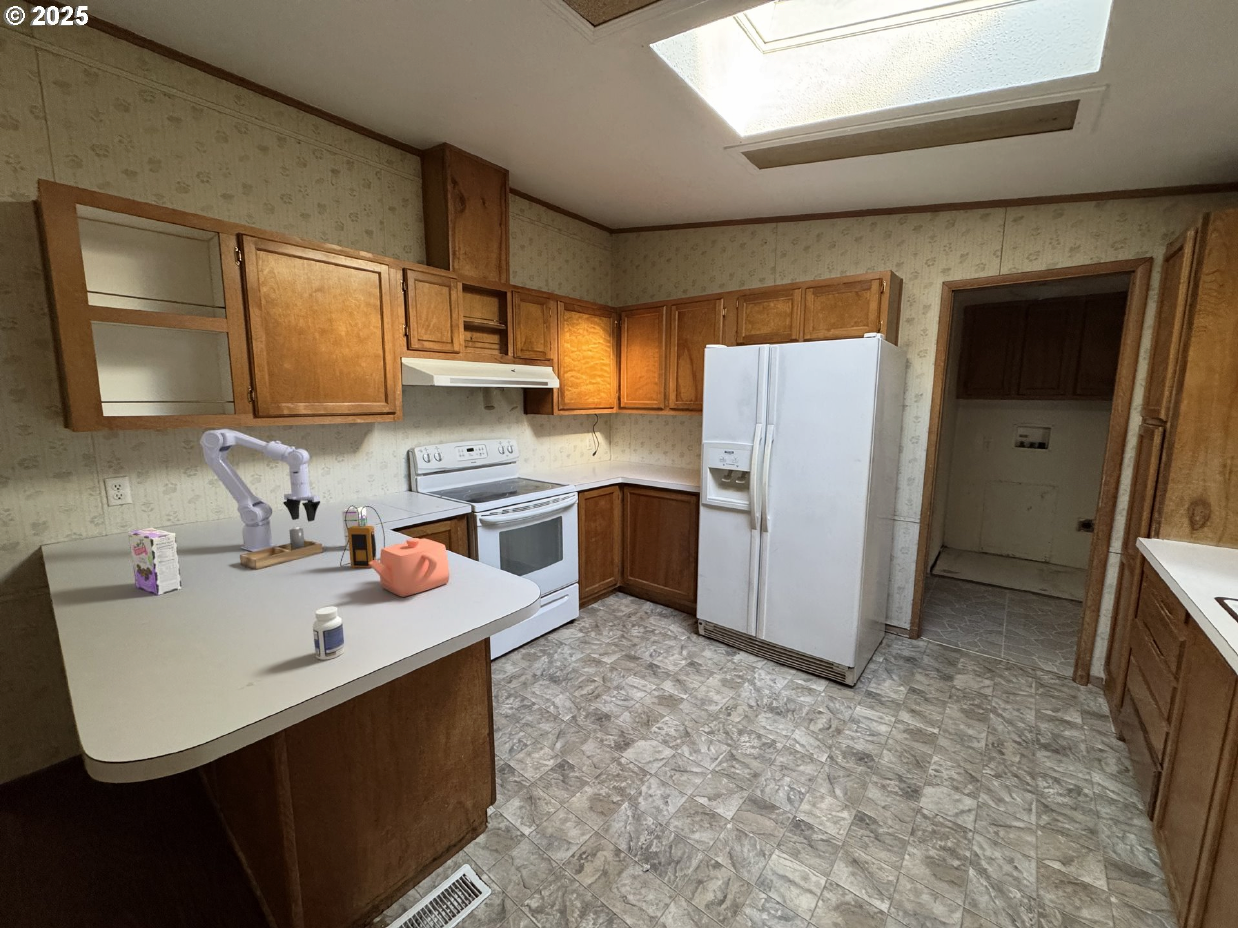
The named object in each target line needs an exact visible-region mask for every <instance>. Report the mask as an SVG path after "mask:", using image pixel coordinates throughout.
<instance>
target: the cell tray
mask: <svg viewBox="0 0 1238 928" xmlns="http://www.w3.org/2000/svg"><path fill="white" fill-rule="evenodd" d="M322 545H323V544H322V543H320V542H316V541H313V540H309V539H304V546H305V547H304V548H300V549H296V550H292V551H291V544H290V542H288V543H285V544H284V543H283V544H281V545H280V544H279V545H277V546H275V547H271V548H267V549H262V550H258V551H254V552H252V551H250V552H247V553H241V554H239V561H240V564H241V565H242V566H244V565H245V566H244V567H247V568H251V569H253V570H261V569H266V568H270V567H273V566H277V565H281V564H285V563H288V562H292V561H297V560H300V559H304V558H308V557H311V556H316V555H319V554H323V546H322Z"/></svg>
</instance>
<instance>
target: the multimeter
mask: <svg viewBox="0 0 1238 928" xmlns="http://www.w3.org/2000/svg"><path fill="white" fill-rule="evenodd" d="M350 507H355V508H356V505H349V507H348V508H347V509H348V510H349V508H350ZM362 507H363V508H365V507H366V508H371V509H372V510H373V511H374V512H375V513H376V515H377V516H378V519H379V522H380V525H381V528H382V532H383V533H382V534H383V548H385V547H386V541H385V540H386V537H385V531H384V526H383V522H382V520H381V518H380V515H379V513H378V512H377V510H376V509H375V508H374V507H373V506H370V505H367V506H366V505H364V506H362ZM363 508H362V509H363ZM356 509H357V508H356ZM348 510H347V512H348ZM357 511H358V509H357ZM347 512H346V515H347ZM346 515H345V523H346ZM346 527H347V523H346ZM347 530H348V542H349V550H348V551H349V561H350V562H347V563H345V564H343V565H342V561H343V558H344V555H345V552H346V547H347V545H346V547H344V550H343V553H342V555H341V558H340V561H339V562H340V563H339V565H340V567H345V566H348V565H350V567H351V568H353V569H354V568H368V569H373V568H372V567H371V565H370V564H369V562H371V561H374V560H378V561H380V557H379V558H377V545H376V544H377V543H376V536H375V527H374V525H367V526H363V519H362V510H361V526H360V521H359V512H358V526H356V525H355V526H352V527H349V528H348V527H347ZM348 542H347V544H348Z"/></svg>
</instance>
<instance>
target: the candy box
mask: <svg viewBox="0 0 1238 928" xmlns="http://www.w3.org/2000/svg"><path fill="white" fill-rule="evenodd" d="M127 534H128V540H129V547H130V553H131V559H132V568H133V573H134V581H135V587H136V588H138V589H141V590H144V591H146V592H149V593H152V594H154V595H157V596H160V595H163V594H167V593H172V592H174V591H175V590H176V591H179V589H180V590H182V588H183V587H182V581H181V573H180V571H181V570H180V563H179V553H178V545H177V544H178V543H177V536H176V535H177V534H176V533H175V532H170V531H166V530H162V529H158V528H155V527H147V528H142V529H138V530H133V531H128V532H127Z"/></svg>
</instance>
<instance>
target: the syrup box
mask: <svg viewBox="0 0 1238 928" xmlns="http://www.w3.org/2000/svg"><path fill="white" fill-rule="evenodd" d="M349 507H350V506H349ZM349 507H348V508H349ZM355 507H356V508H357V509H358V511H357V509H356V508H355ZM355 507H353V506H351V507H350V508H349V510H348V508H345V509H342V510H341V516H342V526H343V527H342V528H343V534H344V535H343V536H344V545H345V547H346V545H347V547H346V550H347V551H349V542H348V530H347V527H348V528H349V527H352V526H355V525H356V526H358V512H359V521H360V526H361V510H362V519H363V526H368V517H367V509H366V508H367V507H365V506H357V505H355ZM363 507H365V508H363ZM362 508H363V509H362ZM347 510H348V512H347ZM346 512H347V515H346ZM345 515H346V523H347V527H346V523H345ZM347 542H348V544H347ZM345 547H344V548H345ZM346 550H345V551H346Z"/></svg>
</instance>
